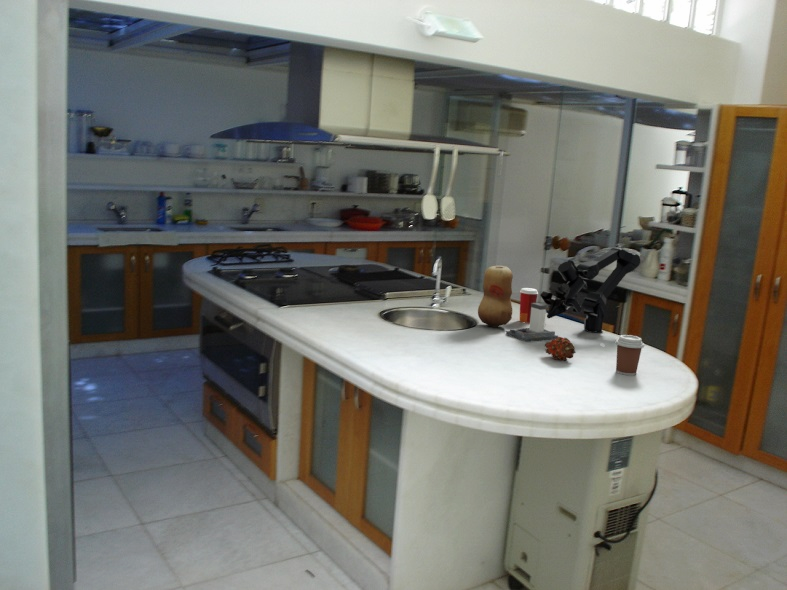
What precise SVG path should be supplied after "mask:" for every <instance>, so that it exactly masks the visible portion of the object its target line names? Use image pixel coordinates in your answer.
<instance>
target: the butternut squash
mask: <svg viewBox="0 0 787 590" xmlns="http://www.w3.org/2000/svg"><path fill="white" fill-rule="evenodd" d="M513 277H514V275H513V272H512V270H511V269H510V268H509V267H508V266H506V265H492V266H489V267H488V268H487V269H485V272H484V276H483V283H482V289H483V296H482V299H481V301H480V303H479V305H478V306H477V307H478V308H477V315H478V318H479V320H480V321H481V322H482V323H484V324H485V325H487V326H488V327H492V328H499V327H501V326H505V325H507V324H508V323H509V322H510V321H511V320H512V318H513V317H512V316H513V305H512V301H511V297H512V294H513V288H512V287H513V286H512V283H513Z"/></svg>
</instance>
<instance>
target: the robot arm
mask: <svg viewBox="0 0 787 590" xmlns="http://www.w3.org/2000/svg"><path fill="white" fill-rule="evenodd" d="M614 262H616V264H615V265H616V267H615V268H614V269H613V270H612V272H611V273H610V274H609V275H608V277H607V278H606V279H605V280H604V282H603V283H602V284H601V285H600V286H599V288H598V289H597V290H596V291H595V292H594V291H589V292H588V293H586V294H587V295H586V296H585V297H583V300H582V303H581V304H582V305H581V304H580V303H579V301H578V300H577V298H578V296H577V294H578V293H579V292H580V291H581V290H582V289H585V290H587V289H588V285H587V284H588V282H587V281H585V280H589V281H591V280H593V279H595V278H596V277H597V276H598V275H599V273H600V271H601V270H603V269H604V268H606V267H608V266H609V265H611V264H613V263H614ZM640 264H641V257H640V256H639V254H637V253H636V254H635V253H633V252H632V253H631V252H628V251H627V250H625V249H623V248H621V247H619V248H618V247H612V248H611V249H610V250H609V251H607V252H605V253H604V254H601V255H600V256H598V257H597V258H595V259H593V260H590V261H589V260H588V261H585V262H582V263H579V264H578V265H577V266H576V264H575V262H574V260H572V259H567V261H564V262H563V263H560V264H559V265H558V267H557V271H558V272H559V274H560V275H561V277H562V279H563V280H564V281H565V282H567V283H559V282H555V281H552V282H551V283H550V286H549V287H548V290H550V291H552V292H553V293H552V292H550V291H546V290H543V291H542V292H541V293H540V295H539V296H540V297H541V299H542V300H543V302H544V303H545V305H547V306H549V309H548V312H547V314H546V318H547V319H552V318H554V317H556V316H558V315H561V314H563V313H567V312H569V311H568V309H569V308H572V312H573V313H575V314H577V315H578V314H580V313H581V312H583V315H586V317H585V318H584V323H583V328H584V330H585V331H586V332H589V333H590V332H591V333H603V332H604V331H603V324H604V319H607V317H608V315H609V312H608V311H607V309H606V306H607V299H608V297H609V296H610V295H611V294H612V293H613V291H614V290H615V289H616V288H617V286H618V285H619V284H620V283H621V281H622V280H623V279H624V277H625V276H626V275H627V274H629V273H631V272H633V271H635V270H636V269H637V268H638V267H639V266H640Z"/></svg>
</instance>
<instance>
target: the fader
mask: <svg viewBox="0 0 787 590" xmlns="http://www.w3.org/2000/svg"><path fill="white" fill-rule="evenodd" d="M547 306H548V305H547V304H543V303H540V302H536V303H531V316H530V323H529V327H528V328H529V329H527V330H526V332H527V333H537V332H546V331H544V329H545V321H546V315H547V314H546V313H547Z"/></svg>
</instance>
